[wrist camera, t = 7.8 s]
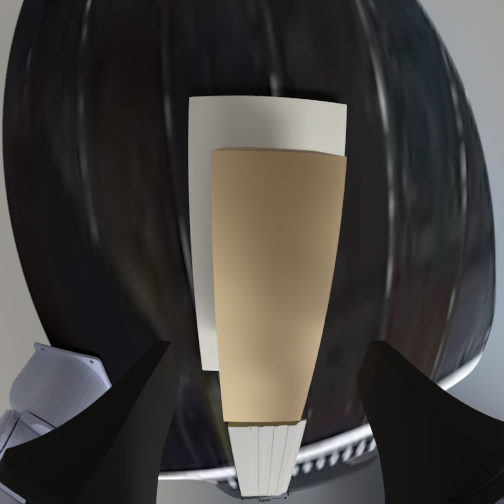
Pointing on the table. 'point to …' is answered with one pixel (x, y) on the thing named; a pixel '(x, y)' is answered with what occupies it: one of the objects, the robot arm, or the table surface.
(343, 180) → the tan block
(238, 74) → the table surface
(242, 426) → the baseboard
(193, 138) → the peg rack
